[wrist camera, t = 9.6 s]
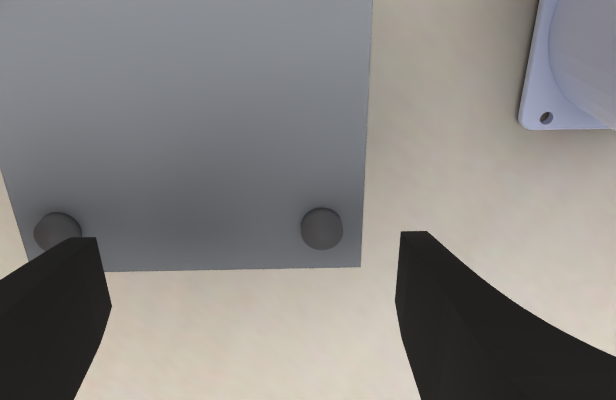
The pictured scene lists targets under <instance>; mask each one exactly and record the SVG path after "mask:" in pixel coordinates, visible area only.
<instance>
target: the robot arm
mask: <svg viewBox="0 0 616 400" xmlns="http://www.w3.org/2000/svg"><path fill="white" fill-rule="evenodd" d="M545 112H549V116H548V118H547V119H546V120H545V121H540V117H541V115H542V114H543V113H545ZM518 121H519V123H520V124H521V125H522V126H523V127H524V128H526V129H528V130H568V129H613V130H614V131H616V0H539V6H538V11H537V17H536V22H535V27H534V33H533V38H532V44H531V49H530V54H529V60H528V65H527V71H526V76H525V82H524V87H523V92H522V98H521V103H520V109H519V114H518ZM395 304H396V310H397V316H398V321H399V327H400V332H401V337H402V341H403V344H404V347H405V350H406V353H407V357H408V360H409V363H410V366H411V369H412V372H413V375H414V379H415V382H416V385H417V388H418V391H419V394H420V397H421V400H616V357H615V356H613V355H610V354H608V353H606V352H604V351H602V350H599V349H597V348H595V347H593V346H591V345H589V344H587V343H585V342H583V341H581V340H579V339H577V338H575V337H573V336H571V335H569V334H567V333H565V332H563V331H561V330H560V329H558V328H556V327H554V326H552V325H551V324H549V323H547V322H545V321H544V320H542V319H540V318H539V317H537V316H536V315H534V314H532V313H531V312H529V311H527V310H526V309H524V308H523V307H521V306H519V305H518V304H516V303H515V302H513V301H512V300H511V299H509V298H508V297H506V296H505V295H504V294H502V293H501V292H499V291H498V290H497V289H495V288H494V287H493V286H491V285H490V284H489V283H487V282H486V281H485V280H483V279H482V278H481V277H480V276H478V275H477V274H476V273H475V272H473V271H472V270H471V269H470V268H469V267H467V266H466V265H465V264H464V263H463V262H462V261H460V260H459V259H458V258H457V257H456V256H455V255H453V254H452V253H451V252H450V251H449V250H448V249H447V248H446V247H444V246H443V245H442V244H441V243H440V242H439V241H438V240H437V239H435V238H434V237H433V236H432V235H431V234H430V233H428V232H427V231H403V232H401V237H400V248H399V260H398V272H397V283H396V295H395ZM111 308H112V305H111V300H110V296H109V291H108V287H107V283H106V278H105V274H104V270H103V265H102V261H101V256H100V252H99V248H98V243H97V239H96V237H70V238H68V239H66V240H64V241H62V242H60V243H59V244H57V245H55V246H53V247H52V248H50V249H49V250H47V251H45V252H44V253H42V254H41V255H39V256H37V257H36V258H34V259H33V260H31V261H29V262H28V263H26V264H25V265H23V266H22V267H20V268H18V269H17V270H15V271H14V272H12V273H10V274H9V275H7V276H6V277H4V278H3V279H1V280H0V400H74V398H75V396H76V394H77V392H78V390H79V388H80V386H81V384H82V382H83V380H84V377H85V375H86V373H87V371H88V369H89V367H90V365H91V363H92V361H93V358H94V356H95V354H96V352H97V350H98V348H99V345H100V343H101V340H102V337H103V334H104V331H105V328H106V325H107V321H108V318H109V315H110V311H111Z"/></svg>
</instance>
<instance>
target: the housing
mask: <svg viewBox="0 0 616 400" xmlns="http://www.w3.org/2000/svg"><path fill="white" fill-rule="evenodd" d="M372 6H373V0H0V169H1V172H2V176H3V179H4V182H5V186H6V189H7V192H8V195H9V199H10V202H11V205H12V208H13V212H14V215H15V218H16V222H17V225H18V228H19V231H20V235H21V238H22V241H23V244H24V248H25V251H26V254H27V257H28V261H31V260H33V259H34V258H36V257H37V256H39V255H41V254H42V253H44V252H45V251H47V250H49V249H50V248H52V247H53V246H55V245H57V244H59V243H60V242H62V241H64V240H66V239H68V238H70V237H96V239H97V243H98V248H99V252H100V256H101V261H102V265H103V270H104V272H127V271H181V270H234V269H287V268H340V267H360V266H361V245H362V223H363V201H364V179H365V158H366V136H367V114H368V93H369V71H370V49H371V27H372Z"/></svg>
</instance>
